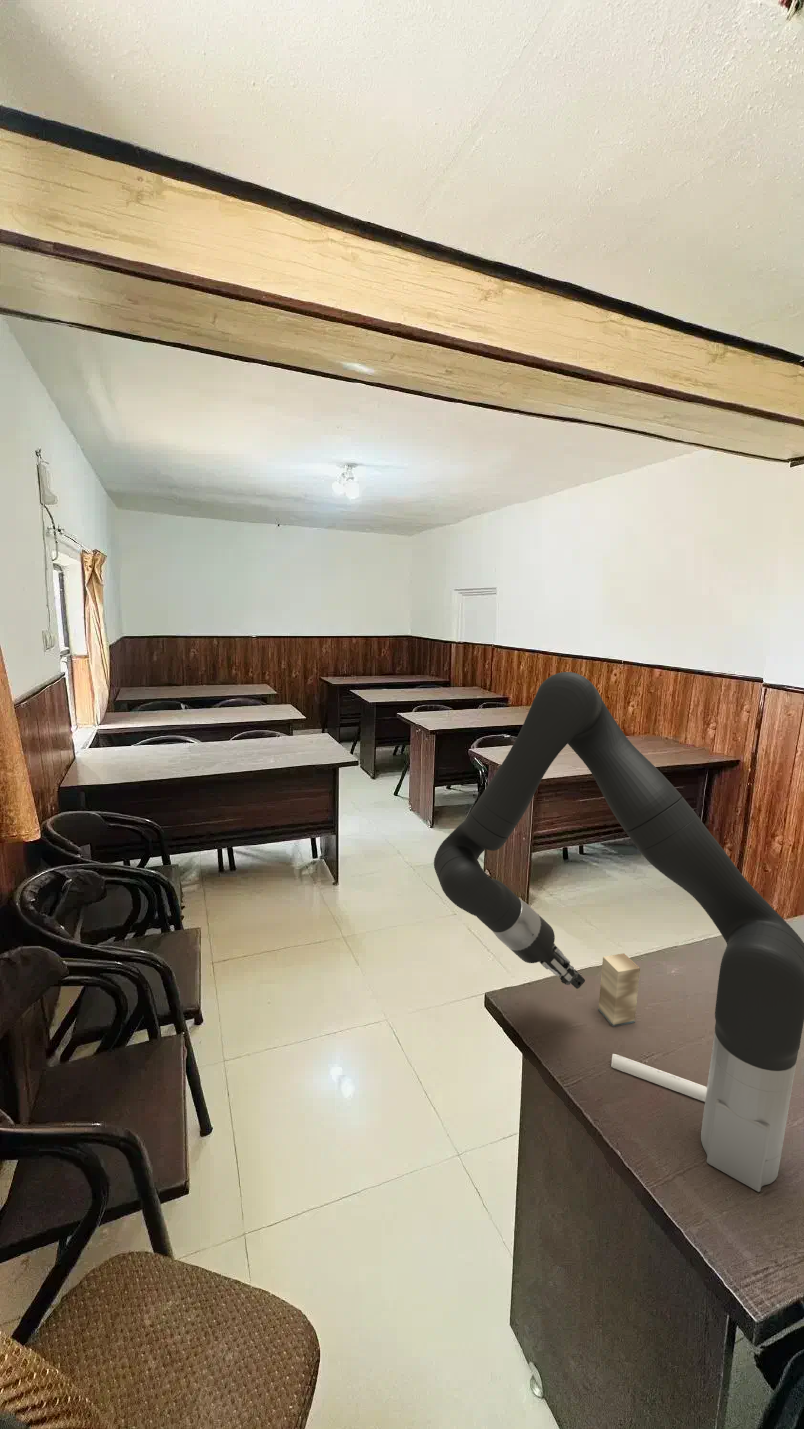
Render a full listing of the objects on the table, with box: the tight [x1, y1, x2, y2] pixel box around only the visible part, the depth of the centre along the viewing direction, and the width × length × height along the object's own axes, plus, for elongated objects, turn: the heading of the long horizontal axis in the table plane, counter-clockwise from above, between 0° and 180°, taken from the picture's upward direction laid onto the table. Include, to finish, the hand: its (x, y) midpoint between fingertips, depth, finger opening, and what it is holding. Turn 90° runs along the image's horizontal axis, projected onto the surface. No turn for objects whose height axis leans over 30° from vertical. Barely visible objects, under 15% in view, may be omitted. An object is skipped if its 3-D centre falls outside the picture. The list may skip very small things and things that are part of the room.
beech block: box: [598, 953, 641, 1028], centre depth 101 cm, size 4×4×11 cm
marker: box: [610, 1053, 707, 1103], centre depth 87 cm, size 18×2×2 cm, turn 62°
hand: (579, 982), depth 99 cm, fingers closed
